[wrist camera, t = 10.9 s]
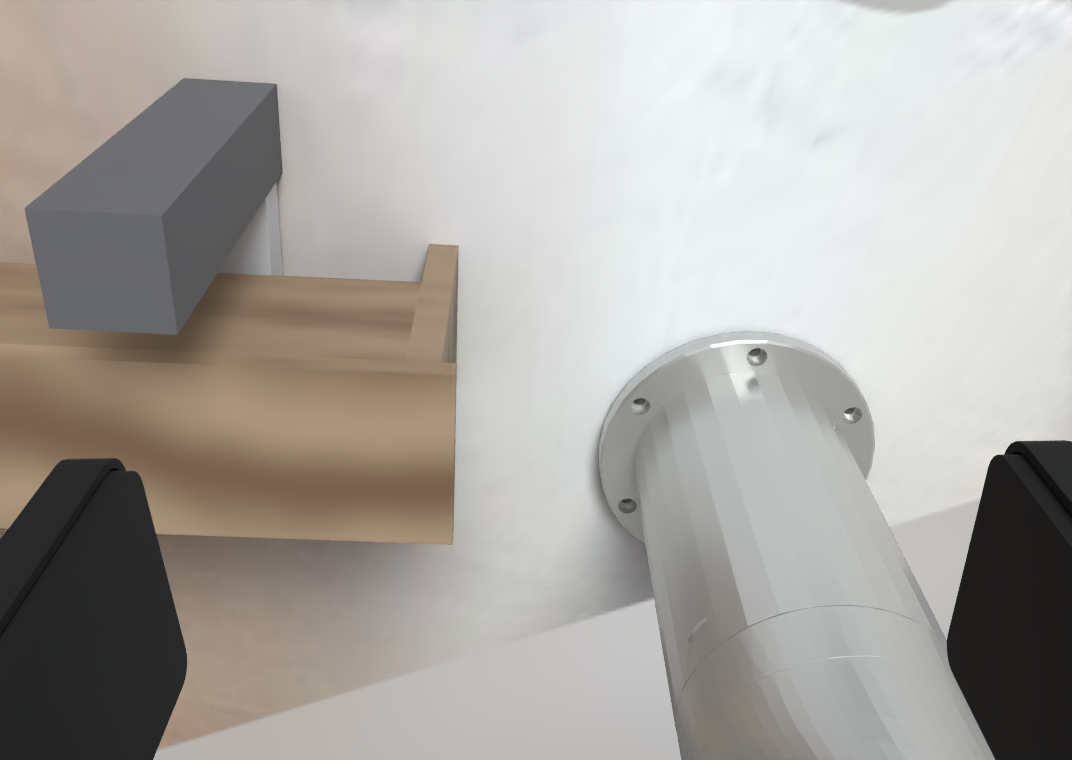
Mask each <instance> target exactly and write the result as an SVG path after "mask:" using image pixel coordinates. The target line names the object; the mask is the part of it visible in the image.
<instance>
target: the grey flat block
mask: <svg viewBox="0 0 1072 760" xmlns="http://www.w3.org/2000/svg"><path fill="white" fill-rule="evenodd" d="M281 174H282V160H281V145H280V130H279V115H278V100H277V85H276V84H268V83H251V82H234V81H218V80H201V79H185V78H184V79H182V80H181V81H180V82H179V83H177V84H176V85H175V86H174V87H173V88H171V89H170V90H169V91H168V92H166V93H165V94H164V95H163V96H162V97H160V98H159V99H158V100H157V101H155V102H154V103H153V104H152V105H151V106H149V107H148V108H147V109H146V110H144V111H143V112H142V113H141V114H140V115H138V116H137V117H136V118H135V119H133V120H132V121H131V122H130V123H128V124H127V125H126V126H125V127H124V128H122V129H121V130H120V131H119V132H117V133H116V134H115V135H114V136H113V137H111V138H110V139H109V140H108V141H106V142H105V143H104V144H103V145H102V146H100V147H99V148H98V149H97V150H95V151H94V152H93V153H92V154H91V155H89V156H88V157H87V158H86V159H84V160H83V161H82V162H81V163H79V164H78V165H77V166H76V167H75V168H73V169H72V170H71V171H70V172H68V173H67V174H66V175H65V176H64V177H62V178H61V179H60V180H59V181H57V182H56V183H55V184H54V185H53V186H51V187H50V188H49V189H48V190H46V191H45V192H44V193H43V194H42V195H40V196H39V197H38V198H37V199H35V200H34V201H33V202H32V203H30V204H29V205H28V206H27V207H26V208H25V212H26V217H27V222H28V227H29V232H30V237H31V241H32V246H33V251H34V256H35V261H36V266H37V271H38V276H39V281H40V285H41V290H42V295H43V300H44V305H45V310H46V315H47V320H48V325H49V328H51V329H71V330H92V331H112V332H132V333H152V334H172V335H178V333H179V332H180V330H181V329H182V327H183V325H184V324H185V322H186V321H187V319H188V318H189V316H190V315H191V313H192V312H193V310H194V308H195V307H196V305H197V304H198V302H199V301H200V299H201V298H202V296H203V295H204V293H205V291H206V290H207V288H208V287H209V285H210V284H211V282H212V281H213V279H214V278H215V276H216V274H217V273H230V274H251V275H273V276H283V264H282V250H281V236H280V221H279V207H278V193H277V180H278V179H279V177H280V176H281Z"/></svg>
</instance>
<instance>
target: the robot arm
mask: <svg viewBox="0 0 1072 760" xmlns="http://www.w3.org/2000/svg"><path fill="white" fill-rule="evenodd" d="M757 348H758V349H757ZM753 349H757V350H756V351H753V352H750V351H751V350H753ZM640 398H642V399H641V400H636V399H640ZM874 447H875V439H874V425H873V421H872V418H871V415H870V411H869V408H868V405H867V402H866V401H865V399H864V397H863V395H862V393H861V392H860V390H859V388H858V386H857V384H856V383H855V382H854V380H853V379H852V378H851V377H850V376H849V374H848V373H847V372H846V371H845V369H844V368H843V367H842V366H841V365H840V364H839V363H837V362H836V361H835V360H834V359H832V358H831V357H830V356H829V355H827V354H826V353H825V352H824V351H822V350H820V349H818V348H816V347H814V346H812V345H810V344H808V343H806V342H804V341H801V340H798V339H794V338H791V337H787V336H784V335H780V334H776V333H766V332H754V331H743V332H731V333H721V334H717V335H713V336H709V337H705V338H701V339H697V340H693V341H691V342H689V343H687V344H684V345H682V346H680V347H677V348H675V349H673V350H671V351H669V352H667V353H665V354H664V355H662V356H661V357H659V358H658V359H656V360H655V361H653V362H652V363H650V364H649V365H647V366H646V367H645V368H644V369H643V370H642V371H641V372H639V373H638V374H637V375H636V376H635V377H634V378H633V379H632V380H631V381H630V382H629V383H628V384H627V385H626V387H625V388H624V389H623V391H622V392H621V393H620V395H619V396H618V397H617V399H616V400H615V402H614V403H613V405H612V407H611V409H610V412H609V414H608V416H607V418H606V420H605V422H604V425H603V429H602V434H601V438H600V443H599V469H600V476H601V482H602V488H603V491H604V493H605V496H606V499H607V501H608V504H609V507H610V508H611V510H612V511H613V513H614V514H615V516H616V517H617V519H618V520H619V522H620V523H621V524H622V525H623V526H624V527H625V528H626V529H627V530H628V531H629V532H630V533H631V534H632V535H633V536H634V537H635V538H636V539H637V540H639V541H640V542H642V543H644V544H645V546H646V552H647V558H648V564H649V570H650V576H651V582H652V588H653V594H654V600H655V606H656V612H657V618H658V624H659V630H660V636H661V642H662V648H663V654H664V660H665V666H666V672H667V678H668V684H669V690H670V696H671V702H672V708H673V714H674V720H675V726H676V731H677V736H678V742H679V747H680V754H681V759H682V760H1072V442H1071V441H1065V440H1063V441H1016V442H1014V443H1012V444H1010V446H1009V447H1008V448H1007V450H1006V452H1005V455H996V456H994V457H993V459H992V460H991V462H990V464H989V467H988V471H987V475H986V479H985V483H984V488H983V492H982V496H981V500H980V504H979V508H978V513H977V517H976V521H975V525H974V529H973V533H972V537H971V541H970V546H969V550H968V554H967V558H966V562H965V567H964V570H963V575H962V579H961V583H960V587H959V591H958V596H957V599H956V604H955V608H954V612H953V616H952V620H951V625H950V628H949V633H948V638H947V640H946V638H945V636H944V634H943V632H942V630H941V628H940V626H939V624H938V622H937V620H936V618H935V616H934V614H933V612H932V610H931V608H930V607H929V604H928V602H927V601H926V598H925V597H924V595H923V593H922V591H921V589H920V587H919V585H918V583H917V581H916V579H915V577H914V575H913V573H912V571H911V569H910V567H909V565H908V563H907V561H906V559H905V557H904V555H903V553H902V551H901V549H900V547H899V546H898V543H897V541H896V540H895V538H894V536H893V534H892V532H891V530H890V528H889V526H888V524H887V522H886V520H885V518H884V516H883V514H882V512H881V510H880V508H879V506H878V504H877V502H876V500H875V498H874V496H873V494H872V492H871V490H870V488H869V487H868V485H867V483H866V479H867V476H868V474H869V471H870V469H871V466H872V460H873V454H874ZM186 670H187V654H186V648H185V644H184V640H183V636H182V633H181V629H180V625H179V621H178V617H177V613H176V609H175V605H174V602H173V598H172V594H171V590H170V586H169V582H168V578H167V574H166V571H165V567H164V563H163V559H162V555H161V551H160V547H159V543H158V540H157V536H156V532H155V528H154V524H153V520H152V516H151V512H150V509H149V505H148V501H147V497H146V493H145V489H144V485H143V482H142V479H141V477H140V475H139V474H138V472H135V471H126V469H125V466H124V465H123V463H122V462H121V461H120V460H118V459H116V458H91V459H65V460H61V461H60V462H59V463H58V464H57V465H56V466H55V467H54V468H53V470H52V471H51V472H50V474H49V475H48V476H47V478H46V479H45V480H44V482H43V483H42V484H41V486H40V487H39V488H38V490H37V491H36V493H35V494H34V495H33V497H32V498H31V499H30V501H29V502H28V503H27V505H26V506H25V507H24V509H23V510H22V511H21V513H20V514H19V515H18V517H17V518H16V519H15V521H14V522H13V523H12V525H11V526H10V527H9V529H8V530H7V531H6V533H5V534H4V535H3V537H2V538H1V539H0V760H153V758H154V756H155V753H156V751H157V748H158V746H159V743H160V741H161V738H162V736H163V733H164V731H165V729H166V726H167V724H168V721H169V719H170V716H171V714H172V711H173V709H174V707H175V704H176V702H177V699H178V697H179V694H180V692H181V689H182V687H183V684H184V681H185V676H186Z"/></svg>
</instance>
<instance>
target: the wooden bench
mask: <svg viewBox="0 0 1072 760" xmlns="http://www.w3.org/2000/svg"><path fill="white" fill-rule="evenodd" d="M457 289H458V246H455V245H434V244H429V249H428V253H427V258H426V263H425V268H424V272H423V277H422V282H402V281H380V280H359V279H337V278H316V277H294V276H273V275H251V274H230V273H217V274H216V276H215V278H214V279H213V281H212V282H211V284H210V285H209V287H208V288H207V290H206V291H205V293H204V295H203V296H202V298H201V299H200V301H199V302H198V304H197V305H196V307H195V308H194V310H193V312H192V313H191V315H190V316H189V318H188V319H187V321H186V322H185V324H184V325H183V327H182V329H181V330H180V332H179V333H178V335H172V334H152V333H132V332H112V331H92V330H71V329H51V328H49V325H48V320H47V315H46V310H45V305H44V300H43V295H42V290H41V285H40V281H39V276H38V271H37V266H36V264H15V263H0V528H5V529H9V527H10V526H11V525H12V523H13V522H14V521H15V519H16V518H17V517H18V515H19V514H20V513H21V511H22V510H23V509H24V507H25V506H26V505H27V503H28V502H29V501H30V499H31V498H32V497H33V495H34V494H35V493H36V491H37V490H38V488H39V487H40V486H41V484H42V483H43V482H44V480H45V479H46V478H47V476H48V475H49V474H50V472H51V471H52V470H53V468H54V467H55V466H56V465H57V464H58V463H59V462H60V461H61V460H65V459H91V458H116V459H118V460H120V461H121V462H122V463H123V465H124V466H125V469H126V471H135V472H138V474H139V475H140V477H141V479H142V482H143V485H144V489H145V493H146V497H147V501H148V505H149V509H150V512H151V516H152V520H153V524H154V528H155V532H156V534H170V535H198V536H225V537H253V538H280V539H308V540H335V541H362V542H390V543H417V544H445V545H452V541H453V529H454V476H455V423H456V370H457V363H456V343H457Z"/></svg>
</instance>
